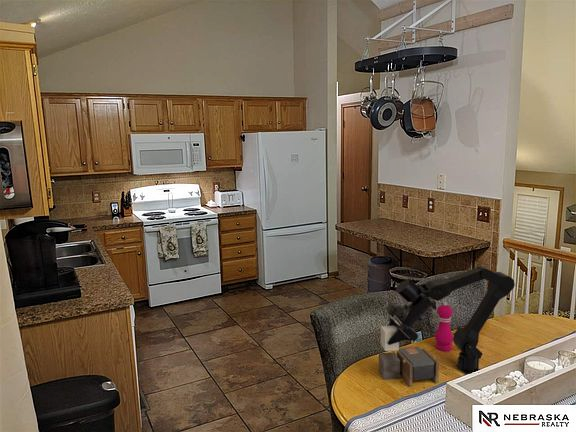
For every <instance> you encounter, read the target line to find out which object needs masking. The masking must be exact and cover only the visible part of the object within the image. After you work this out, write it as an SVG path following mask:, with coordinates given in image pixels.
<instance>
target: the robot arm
mask: <svg viewBox="0 0 576 432" xmlns="http://www.w3.org/2000/svg"><path fill="white" fill-rule="evenodd" d="M482 280H485V281H488V282H487V287H486V293H485V295H484V297H483V298H482V300H481V301H480V303H479V304H478V305H477V308H476V309H475V311H474V312H473V314H472V316H471V318H470V319H469V321H468V322H467V324H466V325H464V326H463V327H462V326H460V325H459V326H458V327H457V329H456V331H455V332H454V333H452V334H453V342H452V343H453V344H454V345H455V347H457V349H458V350H459V351H460V352H458V356H457V364H456V367H457V368H458V369H459V370H460V371H461V372H462V373H463V374H464V375H469V373H470V374H473V373H472V372H475V371H478V370H481V368H480V367H479V365H480V359H481V358H482V356H483V352H482V351H481V350H479V348H477V346H478V343H479V337H480V332H481V330H482V329H483V327H484V326H485V324H486V322H487V321H488V320H489V317H490V316H491V315H492V313H493V312H494V310H495V309H496V306H497V305H498V303H499V302H500V300H502V299H504V298H505V297H507V296H508V295H509V294H510V293H511V292H513V290H514V288H515V285H516V283H515V280H514V278H513V277H512V276H509V275H508V274H505V273H503V272H501V271H496V272H494V271H492V270H491V269H488V268H486V267H485V266H483V265H477V266H476V267H474V268H472V269H469V270H467V271H463V272H461V273H458V274H456V275H453V276H449V277H448V278H437V279H432V280H428V281H427V282H425V283H420V284H416V283H415V282H414V281H413V280H412V279H411V278H410V277H409V278H407V279H406V280H405V279H404V280H403V281H401V282H399V283H398V285H397V286H396V288H395V292H396V293H398V295H400V296H401V297H402V298H403V299H404V300H405V301H406V302H407V303H409V304H408V305H407V304H405V305H404V304H403V306H402V305H399V304H397V303H394V302H391V301H389V303H388V304H387V307H386V309H385V310H386V313H388V324H387V326H391V325H394V326H395V327H396V332H395V333H394V334H393V336H392V337H391V338H390V340H389V341H388V342H387V343H388V344H389V345H391V344H394V343H397V342H399V343H400V342H404V341H407V340H411V341H412V342H413V343H414V342H416V341H417V340H418V339H419V334H418V333H417V332H416V331H415V330H414V326H413V325H414V324H415V323H416V322H417V321H419V322H420V321H422V318H421V317H422V316H423V315H424V314H425V313H426V312H427V311H428V310H429V309H430V308H432V309H433V310H434V311H437V302H438V301H441V300H443V299H445V298H447V297H448V296H450V295H451V293H452V292H454V291H456V290H458V289H461V288H464V287H466V286H469V285H471V284H474V283H477V282H480V281H482ZM421 294H422V295H421ZM436 301H437V302H436Z"/></svg>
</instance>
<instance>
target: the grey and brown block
mask: <svg viewBox="0 0 576 432" xmlns="http://www.w3.org/2000/svg"><path fill="white" fill-rule="evenodd" d="M397 351H400V352H401V353H402V354H403V355H404V356H405V358H406V359H407V360H408V361H409V362H410V363H411V364H412V365H413V374H412V381H418V380H419V381H420V380H425V379H427V380H428V379H431V378H434V361H433V360H432V359H431V358H430V357H429V356H428V355H427V354H426V353H425V352H424V351H423V350H422V348H421V347H419V346H408V347H399V350H397Z"/></svg>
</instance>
